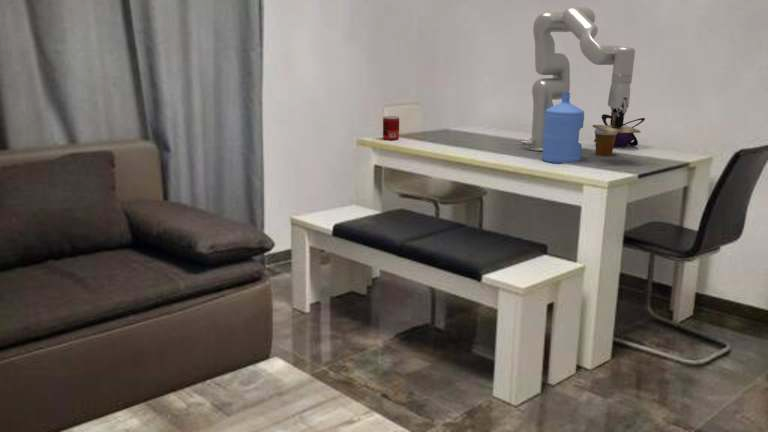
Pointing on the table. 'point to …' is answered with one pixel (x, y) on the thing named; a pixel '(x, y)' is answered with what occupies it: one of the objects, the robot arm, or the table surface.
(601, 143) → the disposable coffee cup
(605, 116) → the decorative bottle
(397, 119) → the canned food
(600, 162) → the rubber mat
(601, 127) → the oak lid
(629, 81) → the robot arm
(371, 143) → the table surface
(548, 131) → the water jug
